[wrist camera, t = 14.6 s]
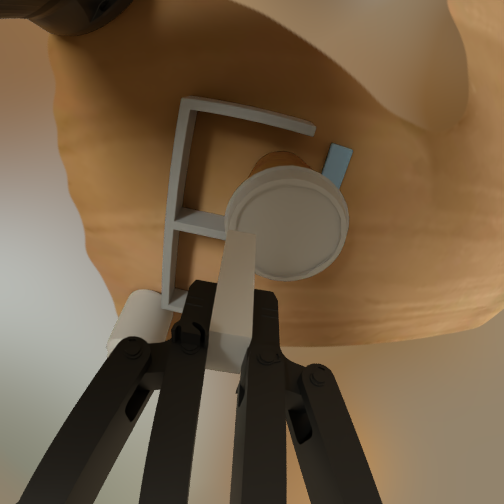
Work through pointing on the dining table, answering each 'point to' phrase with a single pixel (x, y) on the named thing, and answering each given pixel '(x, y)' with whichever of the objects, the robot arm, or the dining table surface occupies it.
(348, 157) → the blue rectangular block
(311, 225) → the disposable coffee cup
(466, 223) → the dining table surface
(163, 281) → the comb rack
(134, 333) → the can
